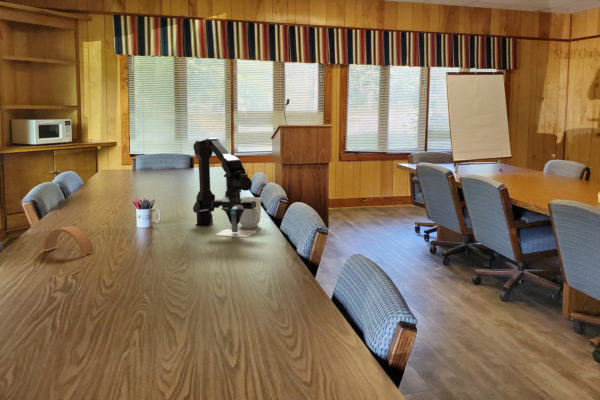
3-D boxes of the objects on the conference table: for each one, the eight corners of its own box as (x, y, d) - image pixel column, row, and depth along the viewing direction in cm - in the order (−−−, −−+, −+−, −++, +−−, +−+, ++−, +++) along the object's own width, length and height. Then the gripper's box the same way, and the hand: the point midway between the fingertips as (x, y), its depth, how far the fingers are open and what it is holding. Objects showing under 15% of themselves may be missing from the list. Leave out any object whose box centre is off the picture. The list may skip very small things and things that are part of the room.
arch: (55, 248, 218) (52, 224, 217) (94, 253, 211) (92, 227, 209) (43, 252, 213) (41, 227, 211) (83, 256, 205) (80, 231, 204)
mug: (269, 228, 248) (269, 200, 245) (248, 231, 242) (247, 202, 239) (254, 222, 260) (253, 195, 258) (233, 225, 254) (232, 198, 252)
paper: (215, 235, 235) (215, 234, 235) (225, 229, 246) (225, 229, 246) (247, 237, 231) (247, 236, 231) (256, 231, 242) (256, 230, 242)
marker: (230, 232, 236) (229, 209, 235) (233, 230, 239) (232, 208, 237) (236, 232, 235) (235, 209, 234) (239, 231, 238) (238, 208, 236)
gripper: (205, 190, 229) (206, 226, 232) (246, 191, 224) (247, 228, 226) (216, 186, 240) (217, 221, 242) (256, 187, 234) (257, 223, 237)
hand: (234, 223), depth 237 cm, fingers closed on marker, 3 cm apart
